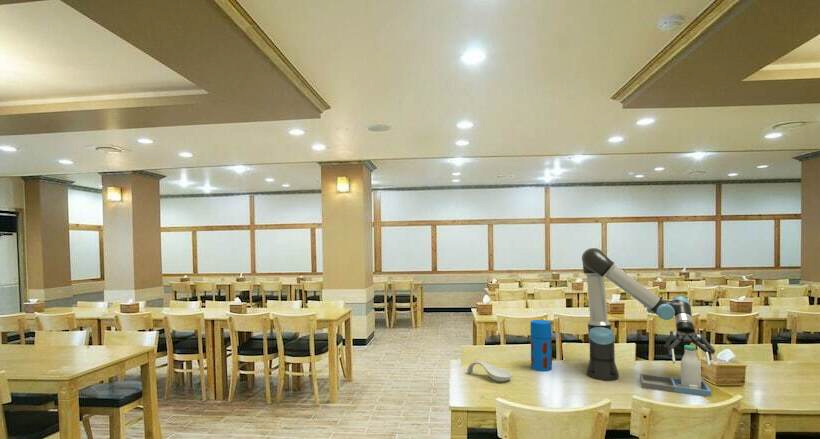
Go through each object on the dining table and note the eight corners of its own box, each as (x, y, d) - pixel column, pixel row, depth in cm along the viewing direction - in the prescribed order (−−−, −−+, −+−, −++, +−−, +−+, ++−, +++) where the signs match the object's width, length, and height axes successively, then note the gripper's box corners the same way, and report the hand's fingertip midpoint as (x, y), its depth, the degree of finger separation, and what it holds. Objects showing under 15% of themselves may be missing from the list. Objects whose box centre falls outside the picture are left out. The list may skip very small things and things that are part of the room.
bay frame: (642, 388, 197) (641, 379, 197) (639, 378, 210) (639, 370, 210) (711, 397, 186) (711, 387, 186) (704, 386, 198) (704, 378, 199)
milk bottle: (704, 393, 190) (703, 348, 191) (685, 391, 192) (684, 347, 193) (696, 387, 198) (695, 344, 199) (678, 386, 200) (677, 343, 200)
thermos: (554, 367, 228) (553, 321, 229) (549, 372, 219) (548, 324, 220) (534, 364, 234) (533, 319, 235) (528, 369, 225) (527, 322, 226)
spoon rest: (516, 379, 211) (515, 364, 211) (506, 386, 201) (506, 371, 201) (474, 370, 225) (474, 356, 225) (463, 376, 215) (463, 362, 216)
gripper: (714, 331, 205) (723, 372, 190) (655, 327, 215) (659, 365, 201) (716, 322, 200) (725, 363, 186) (656, 318, 210) (660, 356, 196)
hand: (691, 364), depth 193 cm, fingers open, 13 cm apart
